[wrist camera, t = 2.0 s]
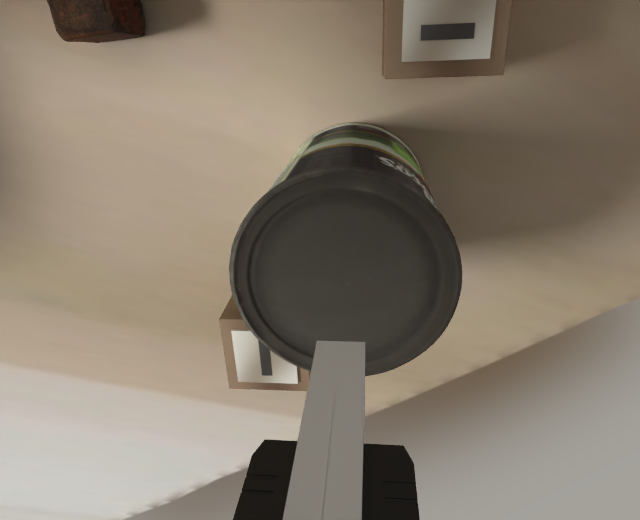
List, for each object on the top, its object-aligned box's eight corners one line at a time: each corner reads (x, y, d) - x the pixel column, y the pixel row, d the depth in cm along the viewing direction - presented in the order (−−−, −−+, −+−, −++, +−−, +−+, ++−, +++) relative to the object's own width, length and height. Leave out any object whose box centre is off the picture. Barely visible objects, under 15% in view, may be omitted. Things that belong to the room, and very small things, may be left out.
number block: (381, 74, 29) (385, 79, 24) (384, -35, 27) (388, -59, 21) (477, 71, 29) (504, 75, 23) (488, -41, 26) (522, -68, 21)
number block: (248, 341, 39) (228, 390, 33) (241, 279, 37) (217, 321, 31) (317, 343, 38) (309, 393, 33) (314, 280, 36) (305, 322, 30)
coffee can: (380, 90, 30) (390, 118, 17) (449, 219, 33) (502, 324, 20) (254, 170, 33) (181, 245, 20) (328, 281, 36) (307, 407, 23)
